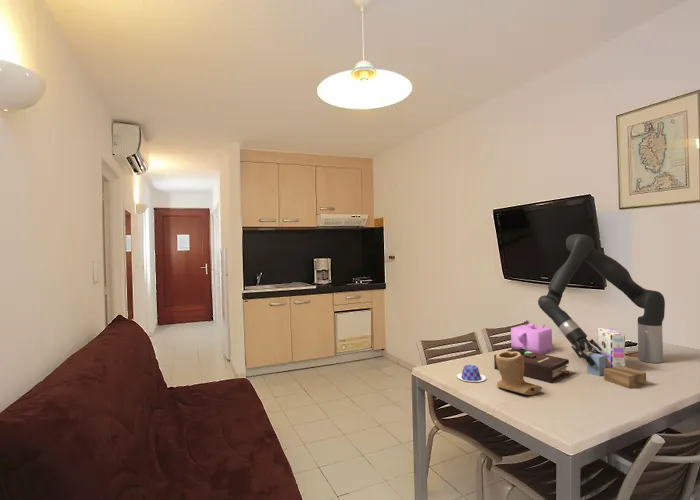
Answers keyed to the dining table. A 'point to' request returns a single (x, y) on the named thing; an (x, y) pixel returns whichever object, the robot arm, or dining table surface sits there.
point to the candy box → (612, 346)
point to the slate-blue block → (597, 364)
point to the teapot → (532, 338)
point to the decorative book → (541, 366)
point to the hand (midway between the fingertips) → (599, 363)
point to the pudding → (471, 374)
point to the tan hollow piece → (514, 373)
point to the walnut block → (625, 376)
